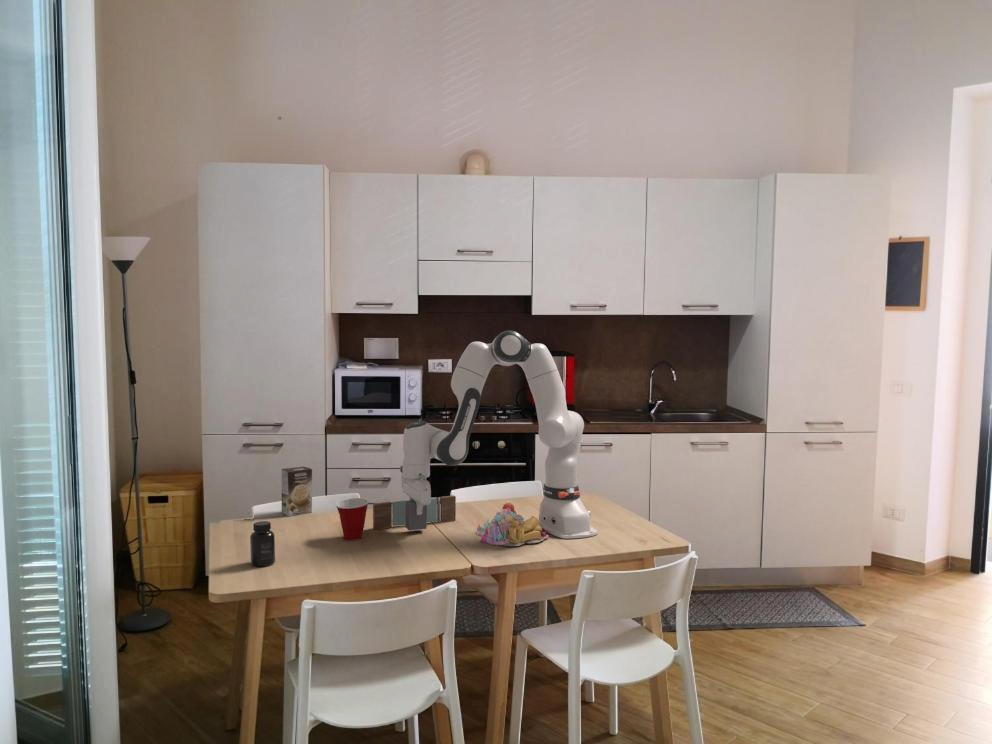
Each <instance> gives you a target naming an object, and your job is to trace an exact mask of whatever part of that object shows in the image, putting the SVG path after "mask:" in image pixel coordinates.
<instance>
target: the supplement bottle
mask: <svg viewBox="0 0 992 744" xmlns="http://www.w3.org/2000/svg"><path fill="white" fill-rule="evenodd" d="M252 527H253V532H252V533H251V534H250V537H249V538H250V539H249V540H250V541H249V542H250V545H249V546H250V547H249V548H250V564H251V566H253V567H259V568H260V567H261V568H262V567H263V568H264V567H269V566H272V565H274V564H275V562H276V546H275V545H276V544H275V543H276V541H275V533H274V531H272V530H271V529H272V525H271V521H268V520H262V521H255V522H254V523H253V526H252Z"/></svg>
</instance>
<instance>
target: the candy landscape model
mask: <svg viewBox="0 0 992 744" xmlns="http://www.w3.org/2000/svg"><path fill="white" fill-rule="evenodd" d="M539 522H540V521H539V518H537V517H536V516H533V515H532V516H531V517H530V518H528V519H525V521H524V517H523V516H522V515H521V514H520V513H519V514H517V512H516V510H515V506H514V504H513V503H511V502H505V503H504V504H503V505H502V509H501V510H500V511H496V514H495V516H494V517H493V518H488V519H487V520H486V521H485V523H484V524H483V525H481V524H480V523H478V526H477V527H476V530H475V533H476V535H478V536H481V538H480V541H481V543H482V542H484V543H487V544H488V545H491V546H492V545H493V546H495V545H496V546H503V547H519V546H520V547H521V545H525V544H536V543H540V542H543V541H544V540H546V539H549V536H550V534H549V533H548V532H547V531H546V530H545V529H544V528H542V527H540V525H538V524H539Z"/></svg>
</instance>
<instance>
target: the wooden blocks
mask: <svg viewBox="0 0 992 744" xmlns="http://www.w3.org/2000/svg"><path fill="white" fill-rule="evenodd" d="M456 499H457V497H456V495H447V496H446V495H445V496H444V495H443V496H440V521H439V522H441V523H445V522H446V523H447V522H456V519H457V518H456V510H457V509H456V507H457V506H456V504H457V502H456V501H457V500H456ZM372 528H373V530H381V529H382V530H383V529H392V528H393V525H392V501H382V502H373V504H372Z"/></svg>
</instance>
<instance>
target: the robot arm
mask: <svg viewBox="0 0 992 744" xmlns="http://www.w3.org/2000/svg"><path fill="white" fill-rule="evenodd" d="M515 364H516V365H518V366H519V367H521V368H522V370H523V372H524V375H525V378H526V381H527V383H528V386H529V387H528V388H529V390H530V392H531V395H532V398H533V400H534V405H535V411H536V416H537V422H538V431H537V432H538V437H539V441H540V442H541V443H542V444H543V445H545V446H546V447H548V450H547V456H546V459H545V461H544V484H543V488H542V493H543V498H542V501H541V502H540V504H539V511H538V512H539V514H538V520H539V521H540V522H539V524H538V525H540V527H542V528H544V529H545V530H546V531H547V532H548V533H549V535H552V536H555V537H557V538H560V539H567V540H568V539H580V538H581V539H582V538H589V537H593V536H596V535H598V534H599V533H598V530H597V529H596V528H595V527H594V526H592V525H591V516H592V515H591V511H590V510H587V508H586V507H585V504H584V503H583V502H582V499H581V498H580V497H581V490H580V488H579V485H578V472H579V471H578V470H579V469H578V468H579V467H578V465H579V457H580V451H581V445H582V438H583V432H584V429H585V422H584V419H583V417H582V416H581V415H580V414H579V413H578V412H576V411H572V410H568V407H567V399H566V389H565V387H564V383H563V381H562V378H561V375H560V374H561V373H559V372H560V371H559V370H558V367H557V365H556V362H555V360H554V357H553V356H552V354H551V352H550V350H549V349H548V347H547V346H546V345H545V344H543V343H537V342H536V343H530V341H528V340H527V339H526V338H525V337H524V336H523V335H522V334H520V333H518V332H517V331H515V330H504V331H502V332H500V333H498V335H497V336H496V337H495V338H494V339H493V341H492V342H491V343H485V342H482V341H472V342H470V343H469V344H468V345H467V347H466V348H465V350H464V351H463V353H462V354H461V356H460V358H459V360H458V362H457V364H456V366H455V369H454V371H453V372H452V373H453V374H452V376H451V380H450V387H451V390H452V392H453V393H454V395H455V396H456V399H457V402H458V409H457V412H456V415H455V418H454V421H453V425H452V426H451V427H452V428H451V430H450V431H447V430H443V429H441V428H438V427H435V426H433V425H431V424H429V423H428V422H427V421H424V420H417V421H413V422H410V423H409V424H407V425H406V426H405V428H404V430H403V436H402V437H403V439H402V450H403V461H402V465H400V466H399V473H401V477H400V478H401V479H400V480H401V489H402V492H403V494H405V495H406V496H407V497H408V500H414V501H416V505H417V508H416V514H417V515H421V514H422V509H423V505H430V503H431V498H432V490H431V489H432V488H431V482H430V481H429V480H427V478H430V475H431V468H430V467H431V460H432V459H436V460H438V461H441V462H442V463H443V464H445V465H446V466H450V467H455V466H458V465H460V464H462V463H463V462H464V461H465V460H466V459H467V456H468V454H469V450H470V449H469V448H470V447H469V446H470V437H471V434H472V431H473V428H474V424H475V421H476V418H477V414H478V411H479V408H480V404H481V398H482V392H483V389H484V386H485V383H486V381H487V378H488V376H489V374H490V372H491V370H492V368H494V367H501V368H508V367H511V366H514V365H515Z"/></svg>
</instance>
